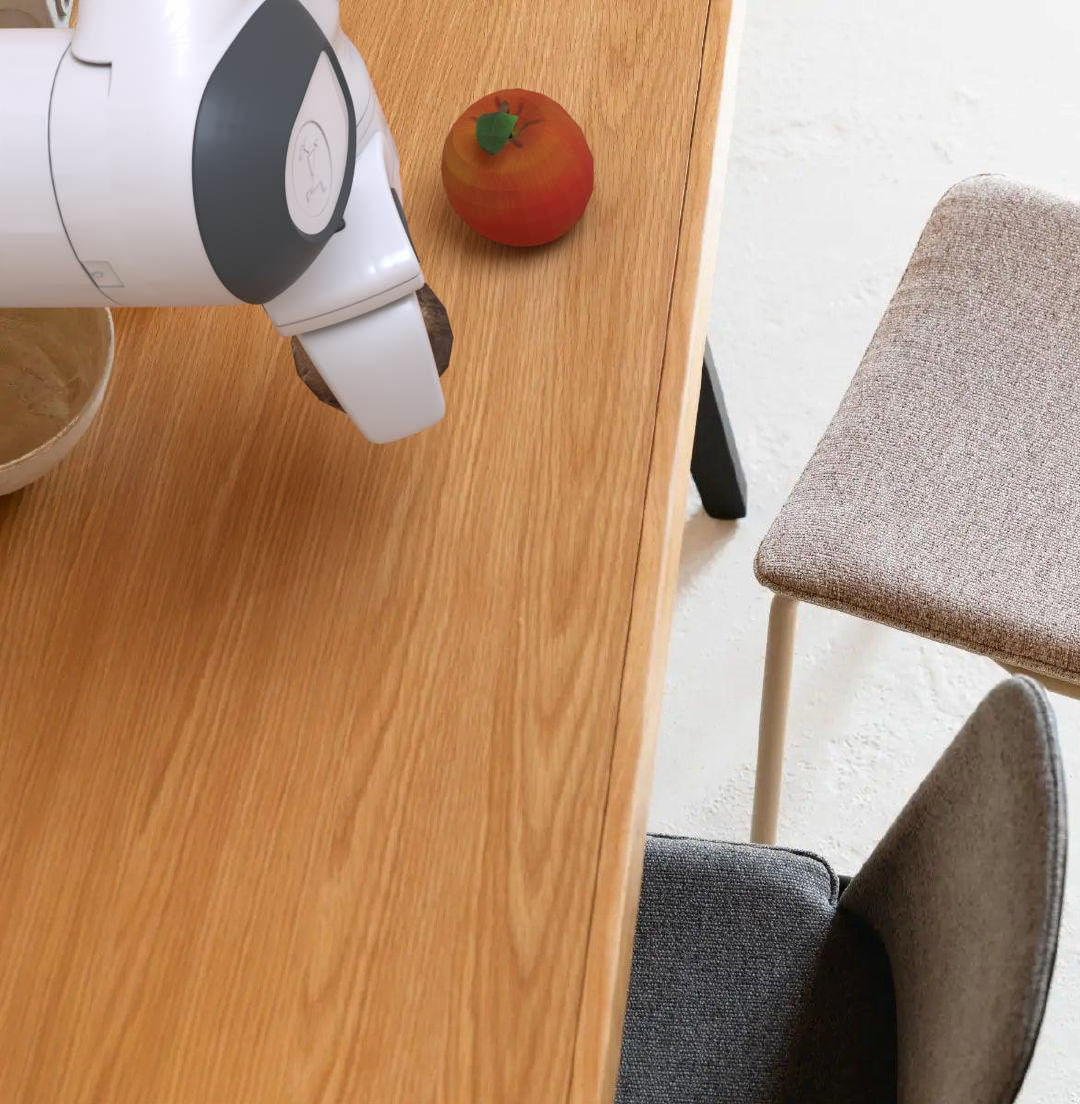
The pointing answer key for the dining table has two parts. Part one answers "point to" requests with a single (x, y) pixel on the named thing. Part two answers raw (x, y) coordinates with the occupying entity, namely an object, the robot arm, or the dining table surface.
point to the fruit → (517, 168)
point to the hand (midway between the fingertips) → (378, 348)
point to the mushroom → (436, 331)
